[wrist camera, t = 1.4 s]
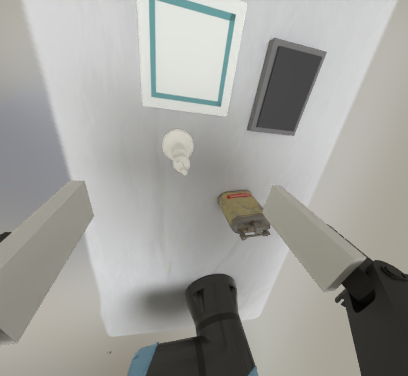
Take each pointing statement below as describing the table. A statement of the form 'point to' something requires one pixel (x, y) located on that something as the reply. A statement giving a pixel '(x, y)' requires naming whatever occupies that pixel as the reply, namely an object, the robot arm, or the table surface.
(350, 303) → the robot arm
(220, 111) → the print card
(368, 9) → the table surface
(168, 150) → the chess piece
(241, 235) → the lighter
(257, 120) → the ink pad
